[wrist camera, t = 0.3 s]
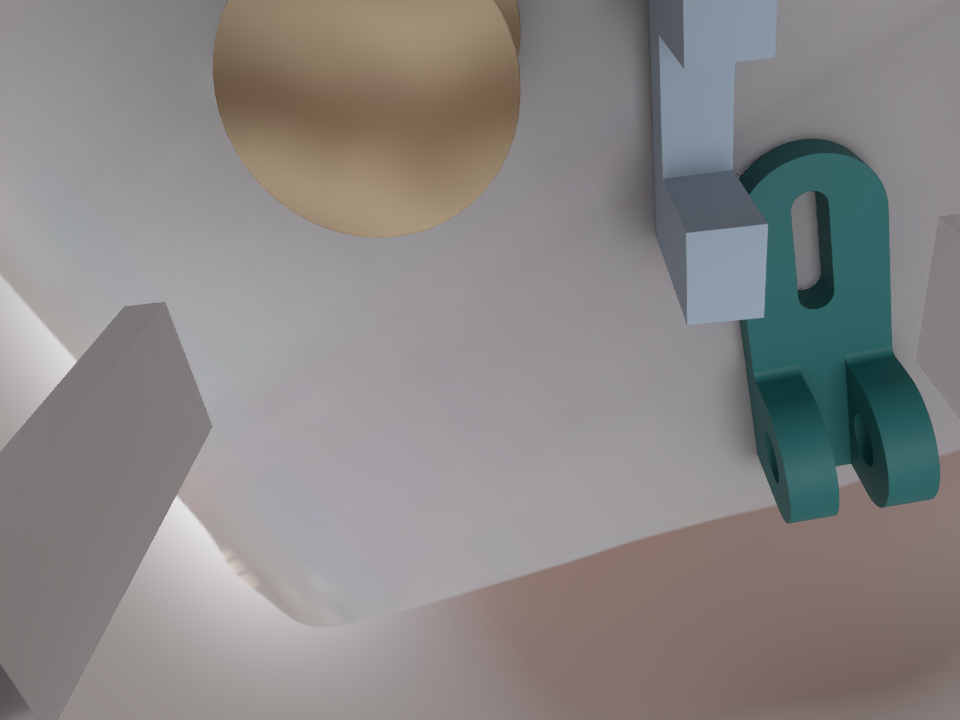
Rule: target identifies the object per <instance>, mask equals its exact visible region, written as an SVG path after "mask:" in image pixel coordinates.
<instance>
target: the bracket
mask: <svg viewBox="0 0 960 720" xmlns="http://www.w3.org/2000/svg"><path fill="white" fill-rule="evenodd" d="M739 180H740V182H741V183H742V185H743V186H744V188H745V190H746V191H747V193H748V194H749V196H750V197H751V199H752V200H753V202H754V203H755V205H756V206H757V208H758V209H759V211H760V212H761V214H762V215H763V217H764V218H765V220H766V222H767V223H768V237H767V260H766V284H765V308H764V318H755V319H745V320H740V324H741V332H742V339H743V347H744V355H745V362H746V370H747V377H748V385H749V393H750V400H751V408H752V415H753V423H754V431H755V438H756V446H757V454H758V457H759V460H760V462H761V465H762V468H763V470H764V473H765V475H766V478H767V480H768V483H769V485H770V488H771V490H772V493H773V496H774V498H775V501H776V503H777V506H778V508H779V511H780V513H781V515H782V517H783V519H784V520H785V521H786V523H794V522H800V521H806V520H812V519H818V518H824V517H830V516H835V515H837V513H838V510H839V487H838V479H837V473H836V467H835V466H840V465H846V464H852V466H853V468H854V469H855V471H856V473H857V475H858V477H859V479H860V481H861V482H862V484H863V486H864V488H865V489H866V492H867V493H868V495H869V497H870V498H871V500H872V501H873V502H874V503H875V504H876V505H877V506H878V507H881V508H883V507H889V506H895V505H900V504H907V503H912V502H919V501H924V500H930V499H933V498H934V497H935V496H936V494H937V492H938V489H939V483H940V464H939V456H938V449H937V444H936V439H935V435H934V431H933V427H932V424H931V420H930V417H929V414H928V411H927V409H926V406H925V404H924V401H923V399H922V397H921V395H920V392H919V390H918V389H917V387H916V385H915V383H914V382H913V380H912V379H911V377H910V376H909V374H908V373H907V372H906V370H905V369H904V368H903V366H902V365H901V363H900V362H899V361H898V359H897V358H896V357H895V355H894V353H893V349H892V331H891V291H890V251H889V211H888V199H887V194H886V191H885V189H884V186H883V184H882V182H881V180H880V179H879V177H878V176H877V175H876V174H875V173H874V171H873V170H872V169H871V168H869V167H868V166H867V165H866V164H865V163H864V162H863V161H862V160H861V159H860V158H859V157H857V156H856V155H855V154H854V153H853V152H852V151H850V150H849V149H847V148H846V147H844V146H842V145H840V144H837V143H834V142H831V141H827V140H821V139H804V140H797V141H793V142H789V143H786V144H783V145H781V146H778V147H776V148H774V149H772V150H770V151H769V152H767V153H765V154H764V155H762V156H761V157H760V158H758V159H757V160H756V161H755V162H754V163H752V164H751V165H750V167H749V168H748V169H747V170H746V171H745V172H744V173H743V175H742V176H741V177H740V179H739ZM807 191H815V192H816V206H817V220H818V234H819V248H820V262H821V277H820V279H819V281H818V282H817V283H816V284H815V285H814V286H813V287H811V288H809V289H806V290H798V289H797V278H796V267H795V255H794V244H793V233H792V222H791V206H792V204H793V202H794V200H795V199H796V198H797V197H798V196H799V195H801V194H803V193H805V192H807Z"/></svg>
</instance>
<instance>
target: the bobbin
mask: <svg viewBox="0 0 960 720" xmlns="http://www.w3.org/2000/svg"><path fill="white" fill-rule="evenodd" d="M519 46H520V15H519V9H518V3H517V0H228V2H227V5H226V7H225V9H224V11H223V13H222V17H221V20H220V23H219V27H218V30H217V34H216V40H215V47H214V54H213V78H214V88H215V96H216V100H217V104H218V109H219V113H220V116H221V119H222V122H223V124H224V127H225V130H226V133H227V135H228V137H229V139H230V141H231V143H232V145H233V147H234V149H235V151H236V153H237V154H238V156H239V157H240V159H241V160H242V162H243V163H244V165H245V166H246V168H247V169H248V171H249V172H250V173H251V174H252V175H253V177H254V178H255V179H256V180H257V181H258V183H259V184H260V185H261V186H262V187H263V188H264V189H265V190H266V191H268V192H269V193H270V194H271V195H272V196H273V197H274V198H275V199H276V200H278V201H279V202H280V203H282V204H283V205H284V206H286V207H287V208H288V209H290V210H291V211H293V212H294V213H296V214H298V215H300V216H301V217H303V218H305V219H306V220H308V221H311V222H313V223H315V224H317V225H320V226H322V227H324V228H327V229H330V230H334V231H337V232H340V233H344V234H349V235H355V236H360V237H375V238H382V237H397V236H403V235H409V234H414V233H417V232H420V231H423V230H427V229H430V228H432V227H434V226H437V225H439V224H441V223H443V222H445V221H447V220H449V219H450V218H452V217H454V216H455V215H457V214H458V213H460V212H462V211H463V210H464V209H465V208H467V207H468V206H469V205H470V204H471V203H472V202H474V201H475V200H476V199H477V198H478V197H479V196H480V195H481V194H482V192H483V191H484V190H485V189H486V188H487V187H488V186H489V185H490V183H491V182H492V180H493V179H494V177H495V176H496V174H497V173H498V172H499V170H500V168H501V166H502V164H503V162H504V160H505V158H506V156H507V154H508V152H509V149H510V146H511V144H512V141H513V138H514V135H515V130H516V126H517V121H518V116H519V105H520V72H519V63H518V54H519Z"/></svg>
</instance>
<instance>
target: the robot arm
mask: <svg viewBox="0 0 960 720" xmlns="http://www.w3.org/2000/svg"><path fill="white" fill-rule="evenodd" d="M916 362H917V363H918V364H919V365H920V367H921V368H922V369H923V371H924V372H925V373H926V375H927V376H928V377H929V379H930V380H931V381H932V382H933V384H934V385H935V386H936V388H937V389H938V390H939V392H940V393H941V394H942V396H943V397H944V398H945V399H946V401H947V402H948V403H949V405H950V406H951V407H952V409H953V410H954V411H955V413H956V414H957V415H958V416H959V418H960V214H958V215H949V216H940V217H939V219H938V225H937V231H936V238H935V244H934V251H933V257H932V263H931V270H930V276H929V283H928V289H927V295H926V302H925V308H924V315H923V321H922V327H921V334H920V340H919V347H918V353H917V359H916ZM211 428H212V424H211V421H210V419H209V416H208V413H207V411H206V408H205V406H204V403H203V400H202V398H201V395H200V392H199V390H198V387H197V385H196V382H195V379H194V377H193V374H192V371H191V369H190V366H189V364H188V361H187V358H186V356H185V353H184V350H183V348H182V345H181V343H180V340H179V337H178V335H177V332H176V329H175V327H174V324H173V322H172V319H171V316H170V314H169V311H168V308H167V306H166V303H165V302H161V303H152V304H143V305H134V306H125V307H124V308H123V309H122V310H121V311H120V312H119V314H118V315H117V316H116V317H115V318H114V319H113V321H112V322H111V323H110V324H109V325H108V326H107V328H106V329H105V330H104V331H103V332H102V333H101V335H100V336H99V337H98V338H97V339H96V341H95V342H94V343H93V344H92V345H91V346H90V348H89V349H88V350H87V351H86V352H85V353H84V355H83V356H82V357H81V358H80V359H79V360H78V362H77V363H76V364H75V365H74V366H73V367H72V369H71V370H70V371H69V372H68V373H67V375H66V376H65V377H64V378H63V379H62V380H61V382H60V383H59V384H58V385H57V386H56V387H55V389H54V390H53V391H52V392H51V393H50V394H49V396H48V397H47V398H46V399H45V400H44V402H43V403H42V404H41V405H40V406H39V407H38V409H37V410H36V411H35V412H34V413H33V414H32V416H31V417H30V418H29V419H28V420H27V421H26V423H25V424H24V425H23V426H22V427H21V429H20V430H19V431H18V432H17V433H16V434H15V436H14V437H13V438H12V439H11V440H10V441H9V443H8V444H7V445H6V446H5V447H4V448H3V450H2V451H1V452H0V720H58V718H59V717H60V715H61V713H62V711H63V709H64V707H65V705H66V703H67V702H68V699H69V698H70V696H71V694H72V692H73V690H74V688H75V686H76V684H77V682H78V680H79V679H80V677H81V675H82V673H83V671H84V669H85V667H86V665H87V664H88V662H89V660H90V658H91V656H92V654H93V652H94V650H95V648H96V646H97V645H98V643H99V641H100V639H101V637H102V635H103V633H104V631H105V629H106V627H107V626H108V624H109V622H110V620H111V618H112V616H113V614H114V612H115V610H116V609H117V607H118V605H119V603H120V601H121V599H122V597H123V595H124V593H125V591H126V590H127V588H128V586H129V584H130V582H131V580H132V578H133V576H134V574H135V573H136V570H137V568H138V567H139V565H140V563H141V561H142V559H143V557H144V555H145V554H146V552H147V550H148V548H149V546H150V544H151V542H152V540H153V538H154V536H155V535H156V533H157V531H158V529H159V527H160V525H161V523H162V521H163V519H164V517H165V516H166V514H167V512H168V510H169V508H170V506H171V504H172V502H173V500H174V499H175V497H176V495H177V493H178V491H179V489H180V487H181V485H182V483H183V481H184V480H185V478H186V476H187V474H188V472H189V470H190V468H191V466H192V464H193V462H194V461H195V459H196V457H197V455H198V453H199V451H200V449H201V447H202V445H203V443H204V442H205V440H206V438H207V436H208V434H209V432H210V430H211Z"/></svg>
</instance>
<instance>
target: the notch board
mask: <svg viewBox="0 0 960 720" xmlns="http://www.w3.org/2000/svg"><path fill="white" fill-rule="evenodd" d="M648 2H649V33H650V63H651V94H652V125H653V155H654V186H655V217H656V237H657V240H658V243H659V246H660V248H661V251H662V254H663V257H664V260H665V263H666V266H667V269H668V271H669V274H670V277H671V280H672V283H673V286H674V289H675V291H676V294H677V297H678V300H679V303H680V306H681V309H682V312H683V314H684V317H685V320H686V323H687V325H695V324H705V323H715V322H725V321H735V320H745V319H755V318H764V308H765V284H766V260H767V237H768V223H767V222H766V220H765V218H764V217H763V215H762V214H761V212H760V211H759V209H758V208H757V206H756V205H755V203H754V202H753V200H752V199H751V197H750V196H749V194H748V193H747V191H746V190H745V188H744V186H743V185H742V183H741V182H740V180H739V179H738V177H737V176H736V174H735V173H734V171H733V143H734V88H735V63H736V62H744V61H751V60H759V59H766V58H774V57H775V47H776V23H777V0H648Z"/></svg>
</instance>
